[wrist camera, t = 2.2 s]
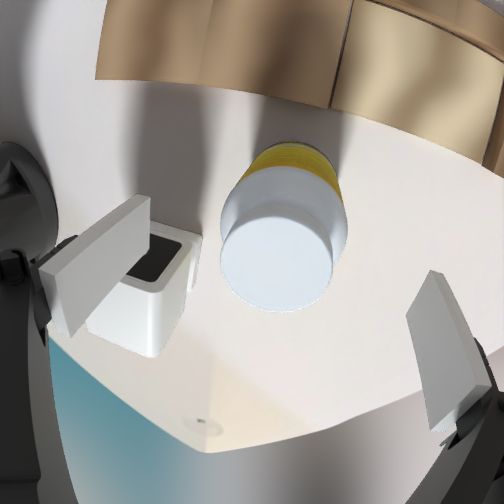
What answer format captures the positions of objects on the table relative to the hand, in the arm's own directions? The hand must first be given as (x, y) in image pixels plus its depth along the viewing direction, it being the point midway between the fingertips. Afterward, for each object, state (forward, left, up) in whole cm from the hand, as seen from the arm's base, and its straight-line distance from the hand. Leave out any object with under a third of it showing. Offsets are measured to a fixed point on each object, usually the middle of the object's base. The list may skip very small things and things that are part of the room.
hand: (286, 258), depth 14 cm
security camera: (-9, -8, -11) cm, 16 cm away
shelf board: (0, +12, -11) cm, 16 cm away
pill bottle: (0, 0, -11) cm, 11 cm away
